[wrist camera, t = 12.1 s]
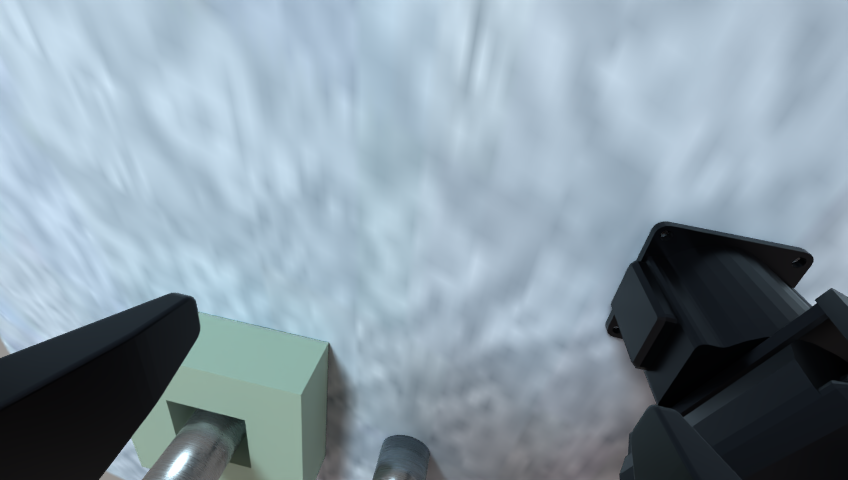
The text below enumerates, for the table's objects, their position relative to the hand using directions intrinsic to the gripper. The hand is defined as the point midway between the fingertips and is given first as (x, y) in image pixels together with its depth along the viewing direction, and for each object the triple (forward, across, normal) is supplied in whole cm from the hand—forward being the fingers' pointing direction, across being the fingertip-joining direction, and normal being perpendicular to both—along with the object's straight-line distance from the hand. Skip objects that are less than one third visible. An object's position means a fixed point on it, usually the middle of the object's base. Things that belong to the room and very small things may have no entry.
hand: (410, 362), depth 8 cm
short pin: (+12, 0, +22) cm, 25 cm away
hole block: (+12, +12, +19) cm, 25 cm away
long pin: (+12, +12, +19) cm, 25 cm away
